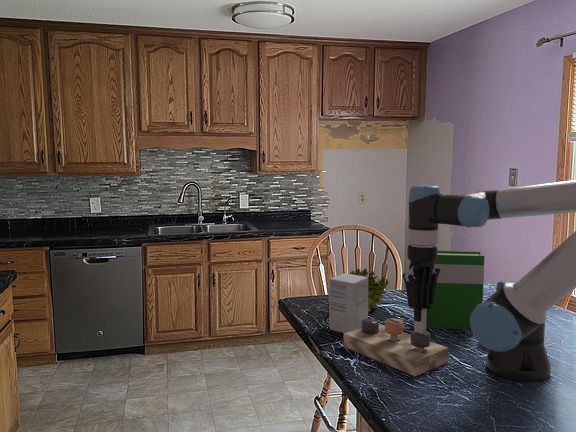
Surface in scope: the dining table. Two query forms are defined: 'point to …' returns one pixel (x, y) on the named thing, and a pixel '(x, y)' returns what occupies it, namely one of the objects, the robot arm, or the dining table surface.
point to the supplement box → (347, 302)
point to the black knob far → (370, 326)
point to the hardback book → (456, 289)
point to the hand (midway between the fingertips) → (420, 332)
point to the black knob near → (420, 340)
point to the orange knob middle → (394, 328)
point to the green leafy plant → (373, 287)
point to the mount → (396, 351)
